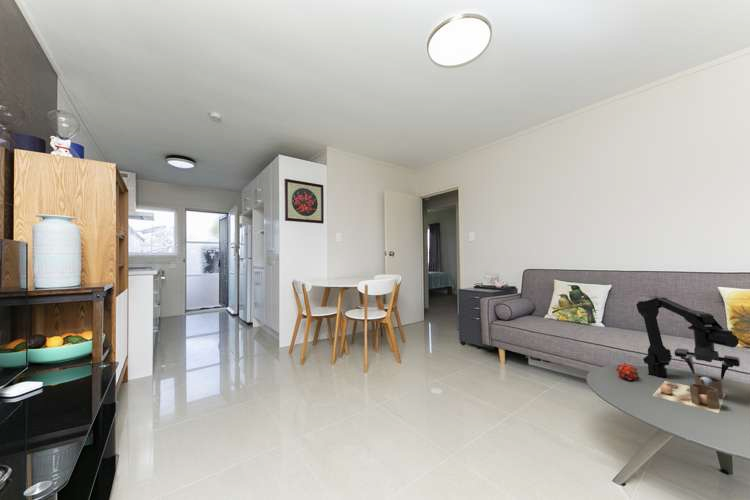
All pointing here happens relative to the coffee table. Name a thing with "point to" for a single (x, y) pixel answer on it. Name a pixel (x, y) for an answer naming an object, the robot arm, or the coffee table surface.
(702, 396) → the terracotta ball in tube
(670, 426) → the coffee table surface
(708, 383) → the slate-blue ball
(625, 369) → the dragon fruit
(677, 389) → the cream wooden tray
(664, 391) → the terracotta ball
